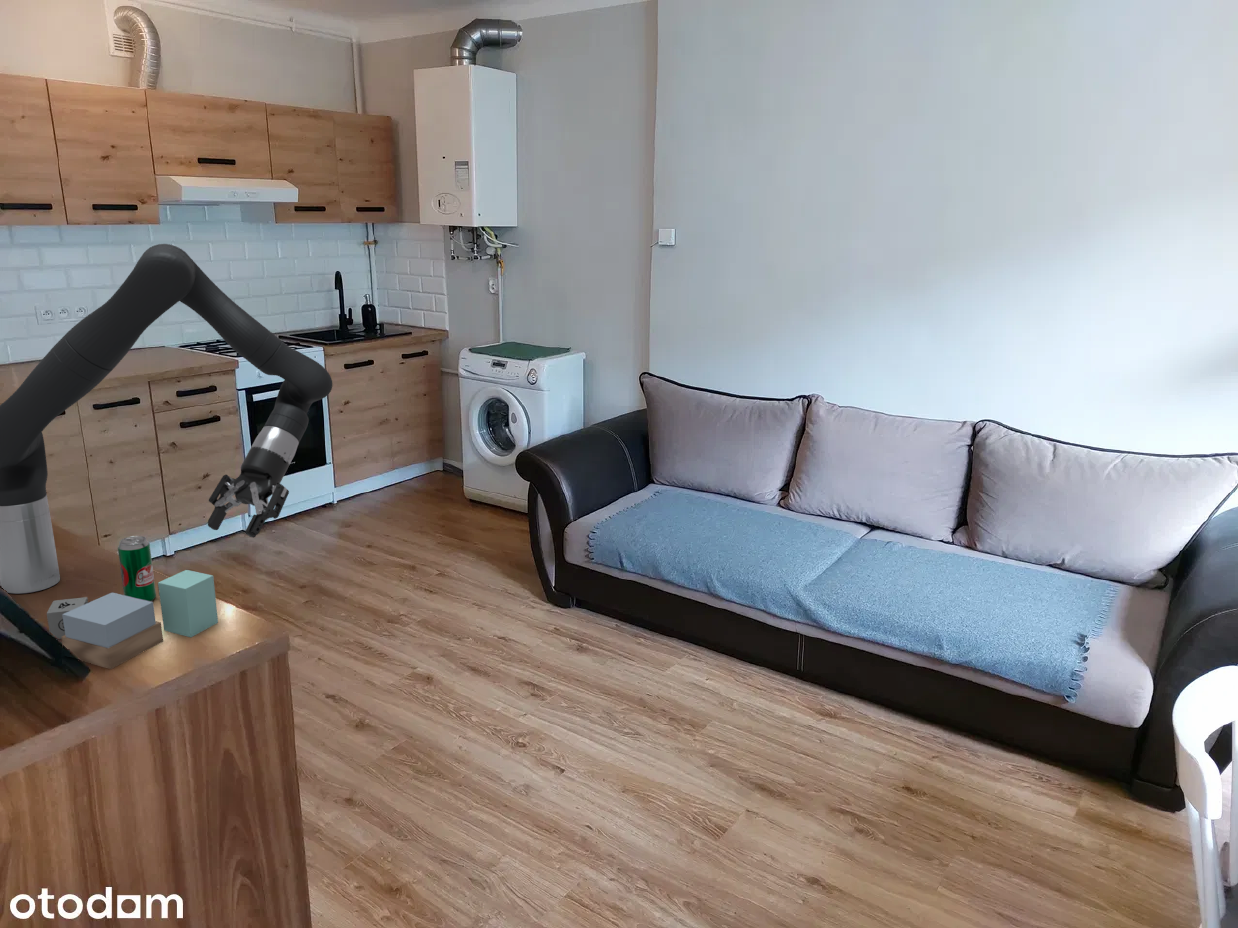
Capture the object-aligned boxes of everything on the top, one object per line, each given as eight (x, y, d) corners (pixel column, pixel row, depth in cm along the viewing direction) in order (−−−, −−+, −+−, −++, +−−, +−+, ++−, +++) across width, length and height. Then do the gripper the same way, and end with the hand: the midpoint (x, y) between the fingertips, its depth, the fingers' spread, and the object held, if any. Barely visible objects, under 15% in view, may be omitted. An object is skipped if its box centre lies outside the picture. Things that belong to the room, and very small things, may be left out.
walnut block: (64, 658, 138) (61, 636, 137) (118, 632, 147) (115, 611, 146) (111, 671, 134) (108, 649, 133) (163, 643, 144) (160, 622, 142)
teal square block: (164, 630, 147) (157, 582, 144) (191, 616, 152) (186, 569, 150) (191, 637, 145) (185, 588, 142) (218, 622, 150) (213, 575, 148)
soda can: (143, 608, 154) (134, 546, 151) (118, 604, 155) (110, 543, 152) (162, 596, 159) (155, 536, 156) (139, 593, 160) (131, 533, 157)
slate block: (65, 637, 136) (62, 614, 135) (114, 613, 145) (111, 592, 143) (108, 648, 134) (104, 625, 132) (155, 624, 142) (153, 602, 141)
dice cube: (57, 627, 147) (53, 600, 145) (91, 623, 149) (87, 596, 147) (51, 640, 142) (46, 613, 141) (85, 636, 144) (81, 609, 143)
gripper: (228, 440, 161) (186, 516, 154) (290, 450, 156) (250, 529, 149) (251, 460, 167) (212, 534, 160) (311, 470, 163) (274, 546, 155)
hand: (230, 531), depth 155 cm, fingers open, 8 cm apart
